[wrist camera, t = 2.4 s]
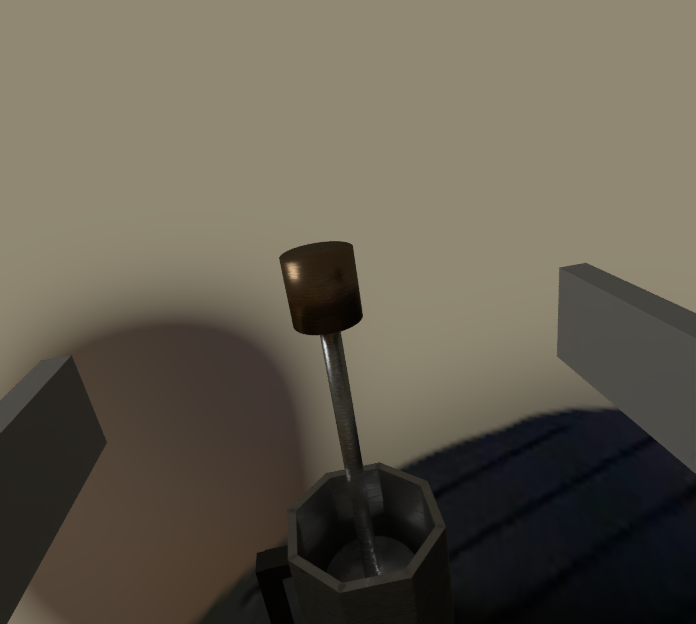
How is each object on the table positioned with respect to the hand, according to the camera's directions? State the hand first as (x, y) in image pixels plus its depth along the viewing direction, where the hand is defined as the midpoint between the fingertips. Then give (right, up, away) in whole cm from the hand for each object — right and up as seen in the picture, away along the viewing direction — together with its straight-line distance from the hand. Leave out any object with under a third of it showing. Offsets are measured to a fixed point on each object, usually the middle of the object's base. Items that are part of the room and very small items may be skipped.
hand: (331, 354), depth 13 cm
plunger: (+2, -19, +22) cm, 29 cm away
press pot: (+3, -29, +26) cm, 39 cm away
